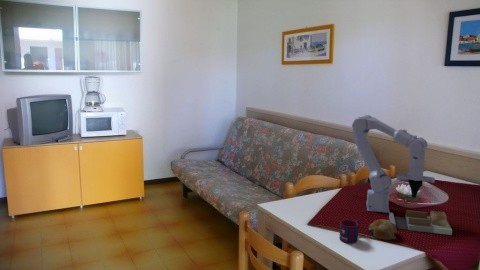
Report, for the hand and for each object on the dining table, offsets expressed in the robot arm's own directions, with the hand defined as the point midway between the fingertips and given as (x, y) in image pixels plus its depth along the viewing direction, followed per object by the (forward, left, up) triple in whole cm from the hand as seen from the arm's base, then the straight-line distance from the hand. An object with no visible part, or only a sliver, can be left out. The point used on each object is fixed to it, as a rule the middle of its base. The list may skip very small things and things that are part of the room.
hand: (413, 196), depth 160 cm
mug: (-25, -28, -10) cm, 39 cm away
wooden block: (+8, -8, -7) cm, 14 cm away
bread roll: (-14, -21, -10) cm, 27 cm away
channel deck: (+1, -8, -9) cm, 12 cm away
